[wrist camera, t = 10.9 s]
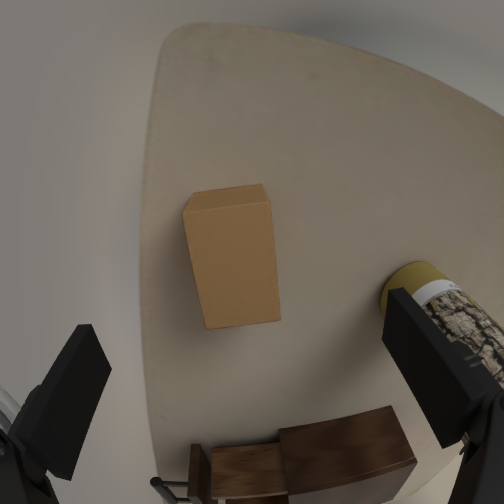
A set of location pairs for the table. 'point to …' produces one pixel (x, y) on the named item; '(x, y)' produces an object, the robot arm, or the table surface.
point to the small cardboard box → (233, 256)
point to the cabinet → (347, 459)
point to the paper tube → (452, 314)
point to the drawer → (232, 476)
